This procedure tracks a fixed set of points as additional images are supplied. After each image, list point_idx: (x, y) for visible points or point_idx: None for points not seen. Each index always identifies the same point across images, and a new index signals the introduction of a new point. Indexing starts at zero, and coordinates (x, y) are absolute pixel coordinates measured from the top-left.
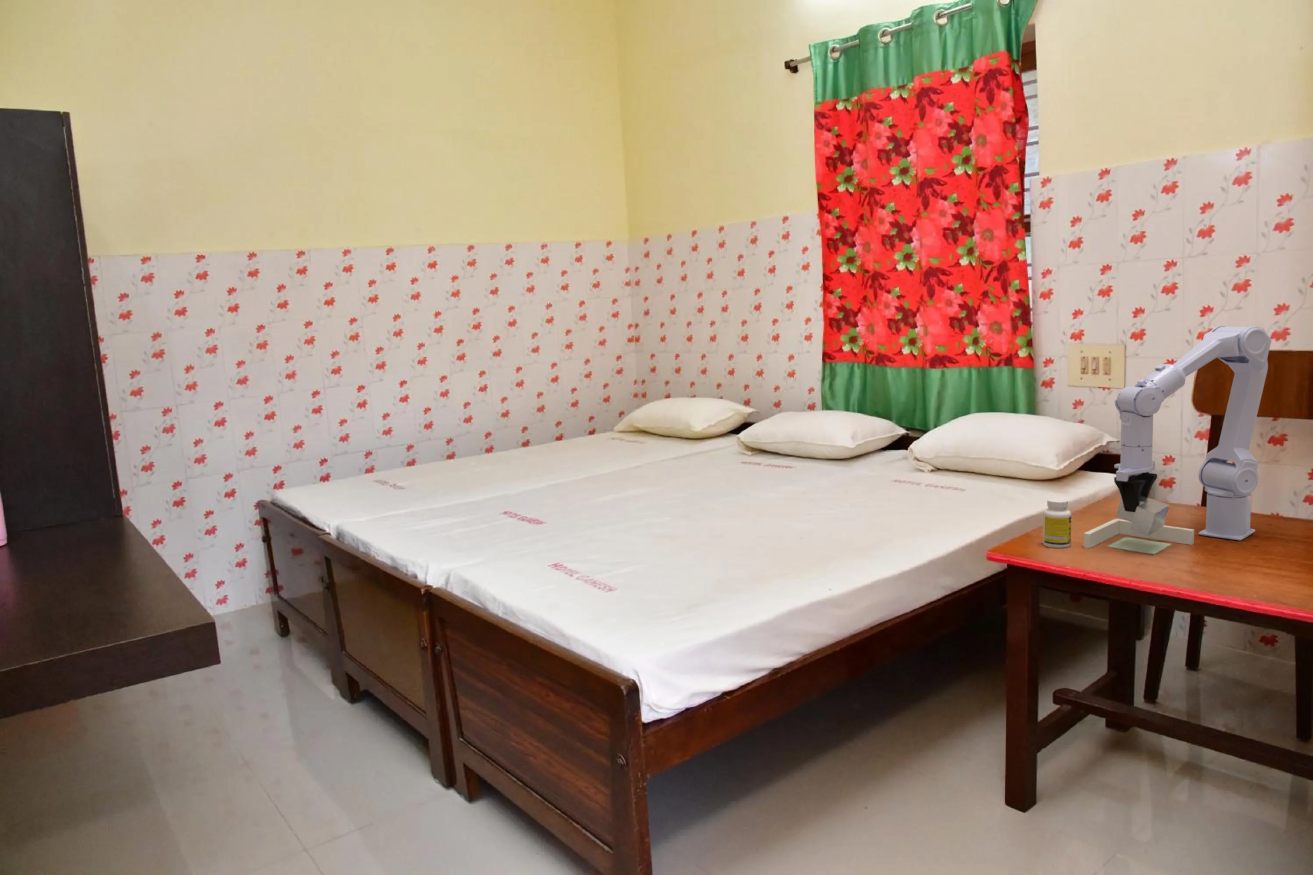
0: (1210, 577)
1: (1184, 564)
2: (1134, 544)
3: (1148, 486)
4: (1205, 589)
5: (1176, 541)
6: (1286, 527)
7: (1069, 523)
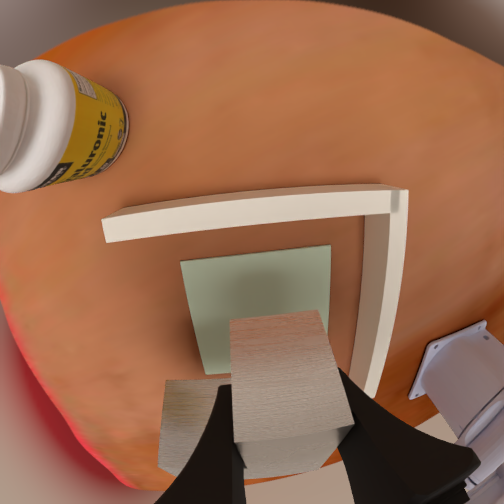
0: (152, 450)
1: None
2: (259, 307)
3: (354, 493)
4: (102, 449)
5: (353, 354)
6: None
7: (44, 186)
